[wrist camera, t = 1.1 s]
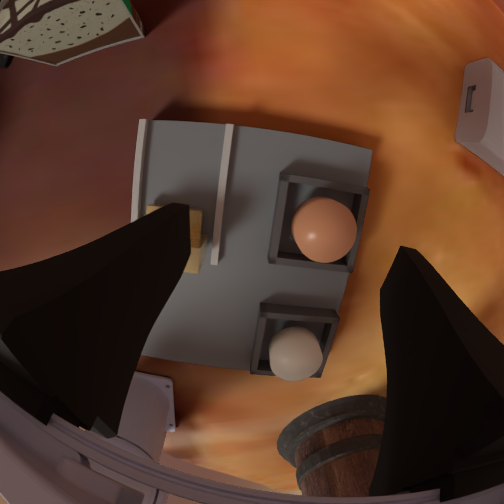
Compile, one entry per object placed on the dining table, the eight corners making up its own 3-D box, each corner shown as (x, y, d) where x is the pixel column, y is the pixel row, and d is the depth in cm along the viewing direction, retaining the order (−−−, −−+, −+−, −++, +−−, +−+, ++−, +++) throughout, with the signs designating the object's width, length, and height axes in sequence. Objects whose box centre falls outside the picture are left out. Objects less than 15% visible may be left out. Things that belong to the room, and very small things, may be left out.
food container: (164, -17, 16) (129, -80, 7) (161, 33, 18) (115, -25, 8) (51, 21, 16) (-8, -9, 7) (44, 71, 18) (-26, 52, 9)
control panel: (315, 361, 27) (322, 384, 24) (143, 342, 26) (132, 363, 23) (362, 150, 21) (380, 149, 18) (149, 122, 20) (133, 117, 17)
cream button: (311, 366, 23) (315, 381, 22) (265, 364, 23) (266, 379, 21) (322, 328, 22) (328, 342, 20) (273, 324, 22) (275, 338, 20)
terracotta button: (340, 256, 20) (349, 265, 19) (286, 249, 20) (290, 259, 18) (351, 201, 19) (362, 205, 17) (295, 191, 19) (301, 195, 17)
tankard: (351, 469, 35) (377, 568, 16) (255, 459, 33) (258, 584, 14) (451, 365, 29) (529, 474, 10) (354, 335, 26) (442, 517, 7)
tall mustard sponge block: (207, 253, 21) (198, 273, 18) (142, 245, 21) (121, 263, 17) (211, 210, 20) (202, 221, 17) (143, 203, 20) (122, 213, 16)
